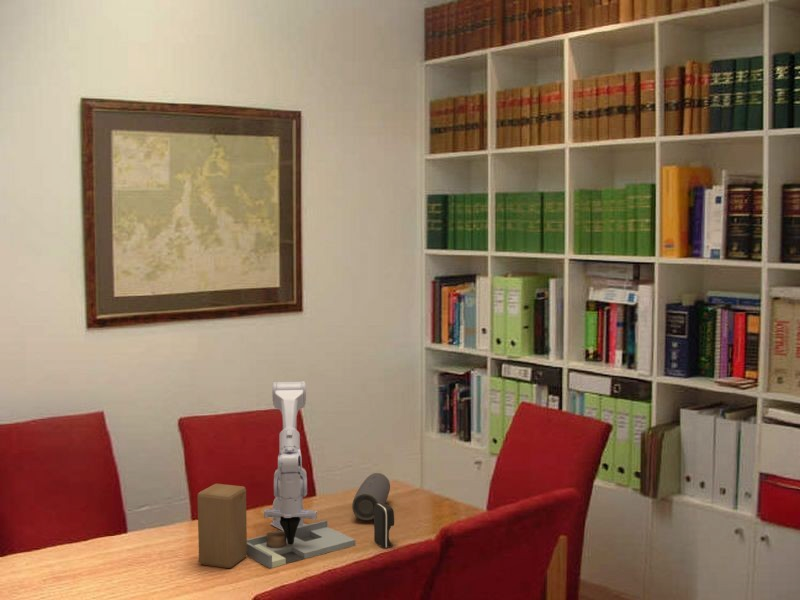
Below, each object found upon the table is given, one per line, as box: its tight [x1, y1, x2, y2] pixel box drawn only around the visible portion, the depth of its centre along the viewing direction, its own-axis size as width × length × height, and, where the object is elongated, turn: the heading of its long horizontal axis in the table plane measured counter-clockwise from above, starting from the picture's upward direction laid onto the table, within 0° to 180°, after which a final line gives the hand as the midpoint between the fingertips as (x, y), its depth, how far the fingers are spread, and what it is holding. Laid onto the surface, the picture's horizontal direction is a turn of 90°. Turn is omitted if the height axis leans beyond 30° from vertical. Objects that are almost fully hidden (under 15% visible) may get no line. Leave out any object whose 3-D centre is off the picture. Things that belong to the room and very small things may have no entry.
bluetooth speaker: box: [351, 472, 391, 521], centre depth 308 cm, size 23×9×10 cm, turn 172°
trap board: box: [246, 520, 356, 569], centre depth 277 cm, size 15×28×3 cm, turn 128°
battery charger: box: [373, 503, 395, 549], centre depth 280 cm, size 7×4×11 cm, turn 25°
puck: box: [265, 530, 286, 548], centre depth 275 cm, size 6×6×3 cm
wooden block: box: [197, 483, 248, 569], centre depth 267 cm, size 10×10×20 cm
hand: (290, 543), depth 275 cm, fingers closed
